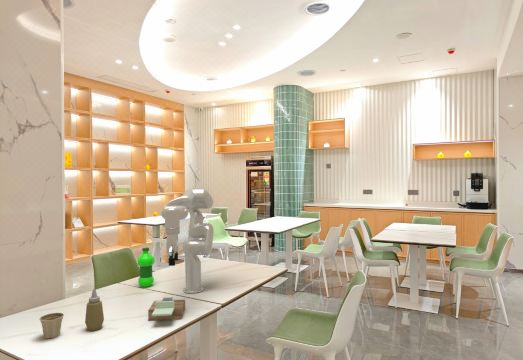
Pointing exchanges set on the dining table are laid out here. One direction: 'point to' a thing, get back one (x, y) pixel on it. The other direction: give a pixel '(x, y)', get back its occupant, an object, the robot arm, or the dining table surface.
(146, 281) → the plastic bottle
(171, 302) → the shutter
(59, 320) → the flower pot
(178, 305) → the socket
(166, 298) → the plug
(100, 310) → the squeeze bottle
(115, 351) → the dining table surface
